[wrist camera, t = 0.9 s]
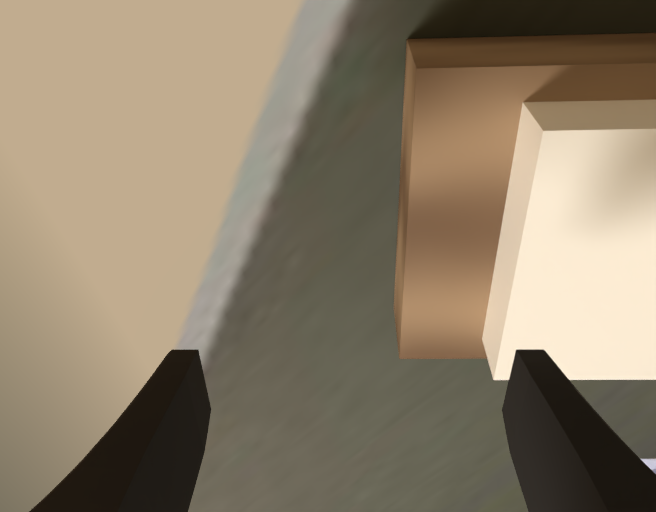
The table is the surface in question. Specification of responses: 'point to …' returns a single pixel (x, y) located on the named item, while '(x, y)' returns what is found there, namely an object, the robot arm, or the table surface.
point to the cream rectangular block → (579, 242)
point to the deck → (481, 163)
